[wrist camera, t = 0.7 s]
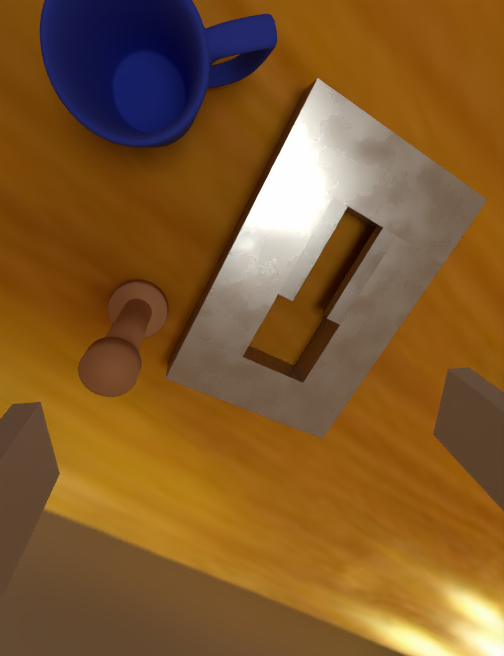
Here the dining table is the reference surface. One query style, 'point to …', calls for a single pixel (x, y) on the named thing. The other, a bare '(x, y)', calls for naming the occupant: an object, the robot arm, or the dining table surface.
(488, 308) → the dining table surface
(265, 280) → the keyhole plate
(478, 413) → the robot arm
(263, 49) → the mug
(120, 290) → the headed peg
